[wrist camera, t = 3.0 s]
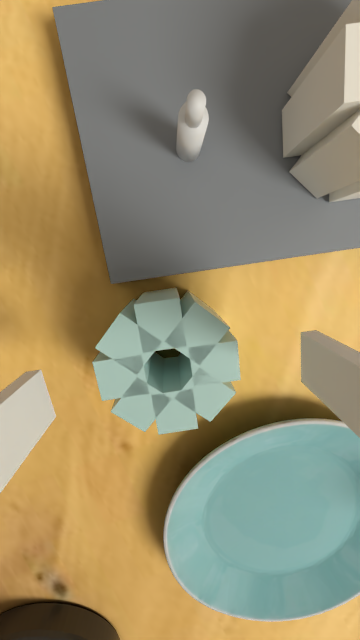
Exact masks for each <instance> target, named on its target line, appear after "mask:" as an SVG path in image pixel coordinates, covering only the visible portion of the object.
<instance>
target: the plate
mask: <svg viewBox="0 0 360 640" xmlns="http://www.w3.org/2000/svg"><path fill="white" fill-rule="evenodd" d="M163 543H164V550H165V555H166V559H167V562H168V565H169V567H170V569H171V571H172V573H173V575H174V577H175V578H176V580H177V581H178V583H179V584H180V585H181V586H182V588H183V589H184V590H185V591H186V592H187V593H188V594H189V595H191V596H192V597H193V598H194V599H196V600H197V601H199V602H200V603H202V604H203V605H205V606H207V607H209V608H211V609H213V610H215V611H218V612H220V613H223V614H227V615H230V616H234V617H237V618H242V619H248V620H255V621H271V622H273V621H289V620H296V619H302V618H306V617H311V616H314V615H318V614H321V613H324V612H326V611H329V610H332V609H334V608H336V607H338V606H341V605H343V604H345V603H347V602H348V601H350V600H352V599H354V598H355V597H357V596H358V595H360V438H359V437H358V436H357V435H356V434H355V433H354V432H353V431H352V430H351V429H350V428H349V427H348V426H347V425H346V424H345V423H344V422H343V421H338V420H331V419H320V418H303V419H293V420H285V421H280V422H275V423H271V424H268V425H264V426H261V427H258V428H255V429H252V430H249V431H247V432H245V433H242V434H240V435H238V436H236V437H234V438H232V439H230V440H228V441H227V442H225V443H223V444H222V445H220V446H219V447H217V448H216V449H214V450H213V451H211V452H210V453H209V454H207V455H206V456H205V457H204V458H203V459H201V460H200V461H199V462H198V463H197V464H196V465H195V466H194V467H193V468H192V469H191V470H190V472H189V473H188V474H187V475H186V476H185V478H184V479H183V480H182V482H181V483H180V485H179V486H178V488H177V489H176V491H175V493H174V495H173V497H172V499H171V502H170V504H169V507H168V510H167V513H166V517H165V522H164V530H163Z"/></svg>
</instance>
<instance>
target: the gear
mask: <svg viewBox="0 0 360 640" xmlns="http://www.w3.org/2000/svg"><path fill="white" fill-rule="evenodd" d="M287 93H288V94H289V95H290V96H291V98H290V100H289V101H288V102H287V104H286V105H285V106H284V108H283V109H282V132H283V158H286V157H293V156H300V155H301V157H300V158H299V159H298V161H297V162H296V163H295V165H294V166H293V167H292V169H291V170H290V171H289V172H290V173H291V174H292V175H293V176H294V177H295V178H296V179H297V180H298V181H299V182H300V183H301V184H302V185H303V186H304V187H305V188H306V189H307V190H308V191H309V192H311V193H312V194H313V195H314V196H315V197H316V198H319V197H322V196H324V195H327V194H329V202H336V201H343V200H350V199H357V198H360V0H352V1H351V2H350V4H349V5H348V7H347V8H346V10H345V11H344V12H343V14H342V15H341V17H340V18H339V20H338V21H337V22H336V24H335V25H334V27H333V28H332V29H331V31H330V32H329V34H328V35H327V37H326V38H325V39H324V41H323V42H322V44H321V45H320V47H319V48H318V49H317V51H316V52H315V54H314V55H313V57H312V58H311V59H310V61H309V62H308V64H307V65H306V67H305V68H304V69H303V71H302V72H301V74H300V75H299V76H298V78H297V79H296V81H295V82H294V84H293V85H292V86H291V88H290V89H289V91H288V92H287Z"/></svg>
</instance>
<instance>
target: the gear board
mask: <svg viewBox="0 0 360 640" xmlns="http://www.w3.org/2000/svg"><path fill="white" fill-rule="evenodd" d="M351 1H352V0H103V1H95V2H88V3H80V4H73V5H66V6H58V7H52V8H53V13H54V17H55V22H56V27H57V31H58V36H59V41H60V46H61V50H62V55H63V60H64V65H65V69H66V74H67V79H68V83H69V88H70V93H71V98H72V102H73V107H74V112H75V116H76V121H77V126H78V131H79V135H80V140H81V145H82V149H83V154H84V159H85V164H86V168H87V173H88V178H89V182H90V187H91V192H92V197H93V201H94V206H95V211H96V216H97V220H98V225H99V230H100V234H101V239H102V244H103V249H104V253H105V258H106V263H107V267H108V272H109V277H110V282H111V284H114V283H121V282H128V281H135V280H142V279H149V278H155V277H162V276H169V275H176V274H183V273H190V272H196V271H203V270H210V269H217V268H224V267H231V266H237V265H244V264H251V263H258V262H265V261H272V260H278V259H285V258H292V257H299V256H306V255H313V254H319V253H326V252H333V251H340V250H347V249H354V248H360V198H357V199H350V200H343V201H336V202H329V194H327V195H324V196H322V197H319V198H316V197H315V196H314V195H313V194H312V193H311V192H309V191H308V190H307V189H306V188H305V187H304V186H303V185H302V184H301V183H300V182H299V181H298V180H297V179H296V178H295V177H294V176H293V175H292V174H291V173H290V172H289V171H290V170H291V169H292V167H293V166H294V165H295V163H296V162H297V161H298V159H299V158H300V157H301V155H300V156H293V157H286V158H283V132H282V109H283V108H284V106H285V105H286V104H287V102H288V101H289V100H290V98H291V96H290V95H289V94H288V93H287V92H288V91H289V89H290V88H291V86H292V85H293V84H294V82H295V81H296V79H297V78H298V76H299V75H300V74H301V72H302V71H303V69H304V68H305V67H306V65H307V64H308V62H309V61H310V59H311V58H312V57H313V55H314V54H315V52H316V51H317V49H318V48H319V47H320V45H321V44H322V42H323V41H324V39H325V38H326V37H327V35H328V34H329V32H330V31H331V29H332V28H333V27H334V25H335V24H336V22H337V21H338V20H339V18H340V17H341V15H342V14H343V12H344V11H345V10H346V8H347V7H348V5H349V4H350V2H351Z"/></svg>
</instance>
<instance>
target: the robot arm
mask: <svg viewBox="0 0 360 640" xmlns="http://www.w3.org/2000/svg"><path fill="white" fill-rule="evenodd" d="M301 382H302V383H303V384H304V385H305V386H306V387H307V388H308V389H309V390H310V391H311V392H313V393H314V394H315V395H316V396H317V397H318V398H319V399H320V400H321V401H322V402H323V403H324V404H325V405H326V406H327V407H328V408H329V409H330V410H331V411H332V412H333V413H334V414H335V415H336V416H337V417H338V418H339V419H340V420H342V421H343V422H344V423H345V424H346V425H347V426H348V427H349V428H350V429H351V430H352V431H353V432H354V433H355V434H356V435H357V436H358V437H359V438H360V352H358V351H356V350H354V349H352V348H350V347H348V346H346V345H344V344H342V343H340V342H338V341H336V340H334V339H332V338H330V337H328V336H326V335H324V334H323V333H321V332H319V331H317V330H314V331H307V332H301ZM55 417H56V415H55V412H54V408H53V405H52V402H51V399H50V396H49V393H48V390H47V387H46V384H45V381H44V377H43V374H42V371H41V370H35V371H28V372H25V373H24V374H23V375H21V376H20V377H19V378H17V379H16V380H15V381H14V382H12V383H11V384H10V385H9V386H7V387H6V388H5V389H3V390H2V391H1V392H0V493H1V491H2V490H3V489H4V487H5V486H6V485H7V483H8V482H9V480H10V479H11V478H12V476H13V475H14V474H15V472H16V471H17V469H18V468H19V467H20V465H21V464H22V463H23V461H24V460H25V458H26V457H27V456H28V454H29V453H30V452H31V450H32V449H33V447H34V446H35V445H36V443H37V442H38V441H39V439H40V438H41V437H42V435H43V434H44V432H45V431H46V430H47V428H48V427H49V426H50V424H51V423H52V421H53V420H54V419H55ZM0 640H120V639H119V636H118V634H117V633H116V631H115V630H114V628H113V627H112V626H111V625H110V624H109V623H108V622H107V621H106V620H104V619H103V618H101V617H100V616H98V615H97V614H95V613H93V612H91V611H88V610H86V609H83V608H80V607H76V606H72V605H66V604H58V603H39V604H30V605H25V606H21V607H17V608H14V609H11V610H9V611H7V612H4V613H2V614H1V615H0Z"/></svg>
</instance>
